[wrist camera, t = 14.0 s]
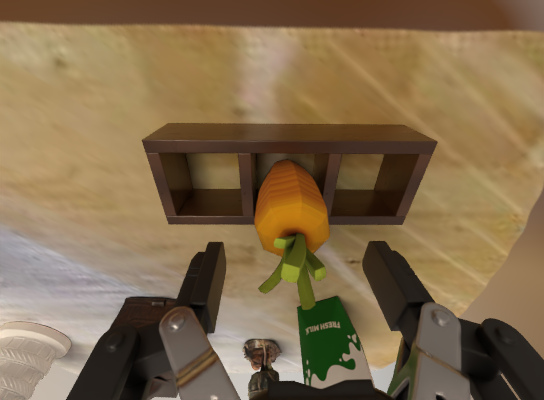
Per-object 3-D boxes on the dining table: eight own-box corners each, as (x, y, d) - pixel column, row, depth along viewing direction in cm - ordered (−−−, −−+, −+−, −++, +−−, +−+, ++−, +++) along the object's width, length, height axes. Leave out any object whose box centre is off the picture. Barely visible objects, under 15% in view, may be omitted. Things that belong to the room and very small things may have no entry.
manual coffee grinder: (194, 298, 35) (135, 482, 20) (196, 333, 41) (152, 495, 26) (90, 289, 34) (-57, 479, 18) (108, 327, 39) (7, 494, 24)
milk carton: (308, 330, 41) (336, 523, 24) (289, 305, 36) (306, 519, 19) (355, 319, 38) (422, 520, 22) (341, 290, 34) (410, 515, 17)
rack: (167, 123, 20) (141, 139, 16) (403, 124, 21) (438, 141, 16) (185, 196, 25) (168, 224, 20) (380, 197, 25) (402, 225, 21)
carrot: (302, 187, 24) (337, 328, 12) (257, 181, 24) (242, 321, 11) (313, 143, 21) (375, 264, 9) (263, 136, 21) (252, 252, 8)
